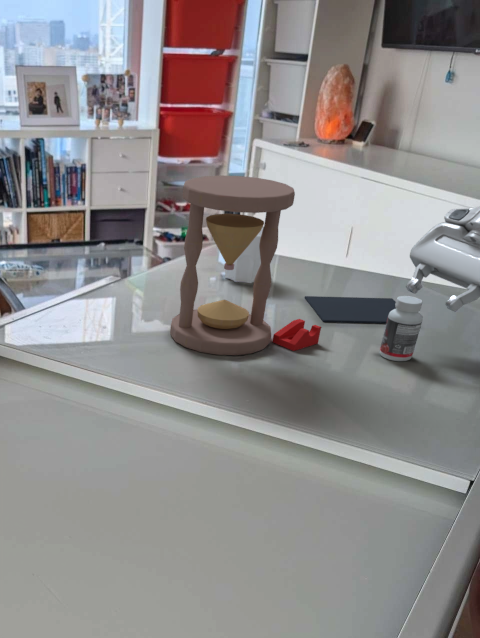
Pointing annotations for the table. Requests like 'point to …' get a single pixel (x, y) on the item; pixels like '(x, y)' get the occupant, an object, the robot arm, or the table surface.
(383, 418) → the table surface
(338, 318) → the mat
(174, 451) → the table surface
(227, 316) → the hourglass
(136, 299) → the table surface
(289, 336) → the bracket
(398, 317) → the pill bottle
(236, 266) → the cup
